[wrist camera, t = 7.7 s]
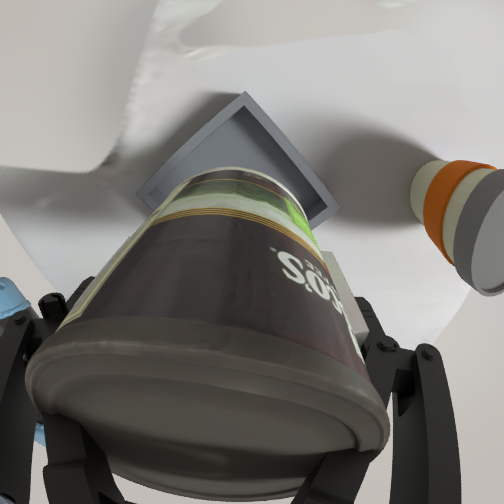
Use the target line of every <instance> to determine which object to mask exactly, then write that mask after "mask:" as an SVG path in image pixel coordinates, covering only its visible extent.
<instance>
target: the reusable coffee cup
mask: <svg viewBox="0 0 504 504" xmlns="http://www.w3.org/2000/svg"><path fill="white" fill-rule="evenodd" d="M410 205H411V208H412V211H413V212H414V214H415V216H416V217H417V218H418V219H419V220H420V222H421V223H422V224H423V225H424V226H425V229H426V232H427V234H428V236H429V237H430V239H431V240H432V241H433V242H434V244H435V245H436V246H437V247H438V249H439V250H440V251H441V253H442V254H443V255H444V257H445V258H446V259H447V261H448V262H449V263H450V264H452V265H453V266H455V267H456V270H457V273H458V274H459V276H460V277H461V279H463V280H464V281H465V282H466V283H468V284H469V285H470V286H471V287H473V288H474V289H475V290H476V291H478V292H479V293H480V294H482V295H484V296H495V295H498V294H501V293H503V292H504V169H499V170H498V169H496V168H495V167H493V166H490V165H488V164H482V163H477V162H471V161H464V160H457V161H453V162H449V161H443V160H434V161H430V162H428V163H426V164H425V165H423V166H422V167H421V168H420V169H419V170H418V172H417V173H416V175H415V177H414V178H413V181H412V184H411V188H410Z"/></svg>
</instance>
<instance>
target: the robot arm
mask: <svg viewBox="0 0 504 504" xmlns="http://www.w3.org/2000/svg"><path fill="white" fill-rule="evenodd" d="M129 238H130V237H129ZM129 238H128V239H127V240H126V241H125V242H124V243H123V245H124V244H125V243H126V242H127V241H128V240H129ZM123 245H122V246H123ZM122 246H121V247H120V248H119V249H118V250H117V252H118V251H119V250H120V249H121V248H122ZM117 252H116V253H117ZM320 252H321V255H322V257H323V259H324V261H325V264H326V266H327V268H328V270H329V273H330V275H331V278H332V280H333V283H334V285H335V287H336V290H337V292H338V295H339V297H340V300H341V302H342V305H343V307H344V309H345V311H346V314H347V317H348V320H349V322H350V325H351V327H352V330H353V333H354V336H355V338H356V340H357V343H358V347H359V349H360V352H361V354H362V357H363V360H364V363H365V366H366V369H367V372H368V374H369V377H370V380H371V383H372V385H373V386H374V388H375V389H376V391H377V392H378V394H379V395H380V397H381V399H382V401H383V403H384V405H385V408H386V410H387V406H388V402H389V398H390V395H391V392H392V400H393V461H392V479H391V491H390V501H389V504H461V472H460V459H459V448H458V440H457V432H456V425H455V419H454V412H453V407H452V402H451V397H450V391H449V387H448V382H447V378H446V373H445V369H444V365H443V361H442V357H441V354H440V352H439V351H438V350H437V349H436V348H435V347H434V346H432V345H430V344H426V343H424V344H420V345H418V346H417V348H416V349H415V351H412V350H407V349H403V348H400V347H399V344H398V343H397V341H395V340H394V339H393V338H391V337H389V336H386V335H385V333H384V331H383V329H382V327H381V325H380V322H379V320H378V318H377V317H376V314H375V312H373V309H372V307H371V305H370V303H369V302H368V301H367V300H366V299H365V298H363V297H354V296H353V294H352V292H351V290H350V288H349V286H348V283H347V281H346V279H345V277H344V275H343V273H342V271H341V269H340V267H339V265H338V263H337V261H336V259H335V257H334V255H333V253H332V252H328V251H320ZM116 253H115V254H116ZM115 254H114V255H113V256H112V258H113V257H114V256H115ZM112 258H111V259H112ZM111 259H110V260H111ZM110 260H109V261H108V262H107V264H108V263H109V262H110ZM107 264H106V265H107ZM106 265H105V266H106ZM105 266H104V267H105ZM104 267H103V268H102V270H103V269H104ZM102 270H101V271H102ZM101 271H100V272H101ZM100 272H99V273H98V275H99V274H100ZM98 275H97V276H98ZM97 276H96V277H97ZM96 277H92V276H90V277H89V278H87V279H86V280H84V281H83V282H82V283H81V284H80V286H79V287H78V288H77V289H76V291H75V292H74V293H73V294H72V296H71V297H70V298H69V299H68V301H67V302H65V298H64V296H63V295H62V294H61V293H50V294H47V295H45V296H44V297H42V298H41V299H40V300H39V303H38V305H39V308H40V311H41V313H42V316H43V318H39V316H38V315H37V314H36V312H35V311H34V310H33V308H32V307H31V303H30V302H29V301H28V300H26V299H25V297H24V296H23V295H22V293H21V292H20V291H19V289H18V288H17V287H16V285H15V284H14V283H13V281H11V280H10V279H8V278H5V277H1V278H0V504H29V500H30V484H31V464H32V452H33V443H34V440H35V441H36V442H38V443H39V444H41V445H43V446H45V447H46V450H47V456H48V465H46V466H44V468H43V479H44V484H45V488H46V493H47V497H48V501H49V504H135V503H132V502H128V501H125V500H124V497H123V496H122V494H121V492H120V491H119V489H118V488H117V486H116V484H115V481H114V478H113V476H112V473H111V469H110V466H109V463H108V460H107V457H106V454H105V453H104V452H103V451H102V449H101V448H100V447H99V446H98V445H97V444H96V443H95V441H94V440H93V439H92V438H91V437H90V435H89V434H88V433H87V432H86V430H85V429H84V428H83V426H82V425H81V424H80V422H79V421H76V420H74V419H71V418H69V417H66V416H64V415H62V414H60V413H56V414H54V415H52V414H49V413H47V412H45V411H43V410H42V415H43V419H42V418H41V416H40V415H39V414H38V412H37V410H36V409H35V407H34V406H33V404H32V402H31V400H30V397H29V395H28V392H27V389H26V385H25V373H26V368H27V365H28V363H29V361H30V359H31V357H32V356H33V355H34V353H35V352H36V351H37V349H38V348H39V347H40V346H41V344H42V343H43V342H44V341H45V340H46V339H47V338H48V337H50V336H51V335H52V334H54V333H55V332H56V331H57V329H58V328H59V326H60V325H61V323H62V322H63V321H64V319H65V318H66V316H67V315H68V314H69V312H70V311H71V310H72V308H73V307H74V306H75V304H76V303H77V302H78V300H79V299H80V298H81V296H82V295H83V294H84V292H85V291H86V290H87V289H88V287H89V286H90V285H91V283H92V282H93V281H94V280H95V278H96ZM373 452H374V449H372V450H367V451H362V452H360V451H358V450H356V449H355V448H349V449H344V450H338V451H331V452H328V453H327V454H326V455H325V456H324V458H323V459H322V460H321V461H320V462H319V464H318V465H317V466H316V467H315V468H314V469H313V470H312V472H311V473H310V474H309V475H308V476H307V477H306V479H305V481H304V482H303V484H302V486H301V487H300V489H299V491H298V492H297V494H296V496H295V497H294V499H293V501H292V502H291V504H354V500H355V498H356V496H357V493H358V491H359V489H360V486H361V484H362V481H363V479H364V476H365V474H366V471H367V469H368V466H369V463H370V461H371V458H372V455H373Z"/></svg>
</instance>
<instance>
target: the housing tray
mask: <svg viewBox="0 0 504 504" xmlns="http://www.w3.org/2000/svg"><path fill="white" fill-rule="evenodd" d="M219 167H242V168H248V169H252V170H256V171H259V172H262V173H263V174H266V175H268V176H270V177H272V178H273V179H275V180H276V181H278V182H279V183H281V184H282V185H283V186H284V187H286V188H287V189H288V190H289V191H290V192H291V193H292V194H293V195H294V197H295V198H296V199H297V201H298V202H299V203H300V205H301V207H302V209H303V211H304V213H305V215H306V217H307V221H308V225H309V227H310V229H311V230H313V229H314V228H315V227H317V226H318V225H319V224H321V223H322V222H323V221H325V220H326V219H327V218H329V217H330V216H331V215H333V214H334V213H335V212H337V211H338V210H339V209H341V208H340V206H339V205H338V204H337V202H336V201H335V199H334V198H333V197H332V195H331V194H330V192H329V191H328V190H327V188H326V187H325V186H324V184H323V183H322V182H321V180H320V179H319V178H318V176H317V175H316V174H315V172H314V171H313V170H312V169H311V167H310V166H309V165H308V163H307V162H306V161H305V160H304V158H303V157H302V156H301V155H300V153H299V152H298V151H297V150H296V148H295V147H294V146H293V145H292V143H291V142H290V141H289V140H288V139H287V137H286V136H285V135H284V134H283V133H282V131H281V130H280V129H279V128H278V127H277V126H276V124H275V123H274V122H273V121H272V120H271V119H270V117H269V116H268V115H267V114H266V113H265V112H264V111H263V110H262V108H261V107H260V106H259V105H258V104H257V103H256V102H255V101H254V100H253V98H252V97H251V96H250V95H249V94H248V93H247V92H246V91H245V92H243V93H242V94H241V95H240V96H238V97H237V98H236V99H235V100H233V101H232V102H231V103H230V104H229V105H227V106H226V107H225V108H224V109H223V110H221V111H220V112H219V113H218V114H217V115H216V116H214V117H213V118H212V119H211V120H210V121H209V122H208V123H206V124H205V125H204V126H203V127H202V128H201V129H200V130H199V131H198V132H197V133H195V134H194V135H193V136H192V137H191V138H190V139H189V140H188V141H187V142H186V143H185V144H184V145H183V146H182V147H181V148H180V149H178V150H177V151H176V152H175V153H174V154H173V155H172V156H171V157H170V158H169V159H168V160H167V161H166V162H165V163H164V164H163V165H162V166H161V167H160V168H159V169H158V170H157V172H156V173H155V174H154V175H153V176H152V177H151V178H150V179H149V180H148V181H147V182H146V183H145V184H144V185H143V186H142V187H141V189H140V190H139V191H138V192H137V193H136V195H137V196H138V197H139V198H140V199H141V200H142V201H143V202H144V203H145V204H146V205H147V206H148V207H149V208H150V209H151V210H152V211H153V212H154V211H155V210H156V209H157V208H158V207H159V206H160V205H161V204H162V203H163V202H164V201H165V200H166V199H167V197H168V196H169V195H170V194H171V192H172V191H173V190H174V189H175V188H176V187H177V186H178V185H180V184H181V183H182V182H183V181H185V180H186V179H188V178H189V177H191V176H193V175H195V174H198V173H200V172H203V171H206V170H209V169H213V168H219Z"/></svg>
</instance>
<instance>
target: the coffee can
mask: <svg viewBox="0 0 504 504" xmlns="http://www.w3.org/2000/svg"><path fill="white" fill-rule="evenodd" d="M25 385H26V389H27V392H28V395H29V397H30V400H31V402H32V404H33V406H34V407H35V409H36V410H37V412H38V414H39V415H40V416H41V418H42V419H43V415H42V410H43V411H45V412H47V413H49V414H52V415H54V414H56V413H60V414H62V415H64V416H66V417H69V418H71V419H74V420H76V421H79V422H80V424H81V425H82V426H83V428H84V429H85V430H86V432H87V433H88V434H89V435H90V437H91V438H92V439H93V440H94V441H95V443H96V444H97V445H98V446H99V447H100V448H101V449H102V451H103V452H104V453H105V454H106V457H107V460H108V463H109V466H110V469H111V472H112V473H114V474H116V475H118V476H120V477H122V478H125V479H127V480H129V481H132V482H135V483H137V484H140V485H143V486H146V487H149V488H152V489H155V490H158V491H162V492H166V493H170V494H175V495H179V496H184V497H189V498H195V499H202V500H211V501H225V502H253V501H267V500H275V499H283V498H288V497H294V496H296V494H297V492H298V491H299V489H300V487H301V486H302V484H303V482H304V481H305V479H306V477H307V476H308V475H309V474H310V473H311V472H312V470H313V469H314V468H315V467H316V466H317V465H318V464H319V462H320V461H321V460H322V459H323V458H324V456H325V455H326V454H327V453H328V452H331V451H338V450H344V449H349V448H355V449H356V450H358V451H360V452H362V451H367V450H372V449H374V452H373V455H372V458H371V461H370V462H372V461H373V460H374V459H375V458H376V457H377V456H378V455H379V454H380V453H381V451H382V450H383V449H384V447H385V445H386V443H387V441H388V438H389V436H390V422H389V417H388V414H387V411H386V408H385V405H384V403H383V401H382V399H381V397H380V395H379V394H378V392H377V391H376V389H375V388H374V386H373V385H372V383H371V380H370V377H369V374H368V372H367V369H366V366H365V363H364V360H363V357H362V354H361V352H360V349H359V347H358V343H357V340H356V338H355V336H354V333H353V330H352V327H351V325H350V322H349V320H348V317H347V314H346V311H345V309H344V307H343V305H342V302H341V300H340V297H339V295H338V292H337V290H336V287H335V285H334V283H333V280H332V278H331V275H330V273H329V270H328V268H327V266H326V264H325V261H324V259H323V257H322V255H321V252H320V250H319V247H318V245H317V243H316V240H315V238H314V236H313V234H312V232H311V229H310V227H309V225H308V221H307V217H306V215H305V213H304V211H303V209H302V207H301V205H300V203H299V202H298V201H297V199H296V198H295V197H294V195H293V194H292V193H291V192H290V191H289V190H288V189H287V188H286V187H284V186H283V185H282V184H281V183H279V182H278V181H276V180H275V179H273V178H272V177H270V176H268V175H266V174H263V173H262V172H259V171H256V170H252V169H248V168H242V167H219V168H213V169H209V170H206V171H203V172H200V173H198V174H195V175H193V176H191V177H189V178H188V179H186V180H185V181H183V182H182V183H181V184H180V185H178V186H177V187H176V188H175V189H174V190H173V191H172V192H171V194H170V195H169V196H168V197H167V199H166V200H165V201H164V202H163V203H162V204H161V205H160V206H159V207H158V208H157V209H156V210H155V211H154V212H153V214H152V215H151V216H150V217H149V218H148V219H147V220H146V221H145V222H144V223H143V224H142V225H141V226H140V227H139V228H138V229H137V230H136V232H135V233H134V234H133V235H132V236H131V237H130V238H129V240H128V241H127V242H126V243H125V244H124V245H123V246H122V248H121V249H120V250H119V251H118V252H117V253H116V254H115V256H114V257H113V258H112V259H111V260H110V262H109V263H108V264H107V265H106V266H105V267H104V269H103V270H102V271H101V272H100V274H99V275H98V276H97V277H96V278H95V280H94V281H93V282H92V283H91V285H90V286H89V287H88V289H87V290H86V291H85V292H84V294H83V295H82V296H81V298H80V299H79V300H78V302H77V303H76V304H75V306H74V307H73V308H72V310H71V311H70V312H69V314H68V315H67V316H66V318H65V319H64V321H63V322H62V323H61V325H60V326H59V328H58V329H57V331H56V332H55V333H54V334H52V335H51V336H50V337H48V338H47V339H46V340H45V341H44V342H43V343H42V344H41V346H40V347H39V348H38V349H37V351H36V352H35V353H34V355H33V356H32V357H31V359H30V361H29V363H28V365H27V368H26V373H25Z"/></svg>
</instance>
